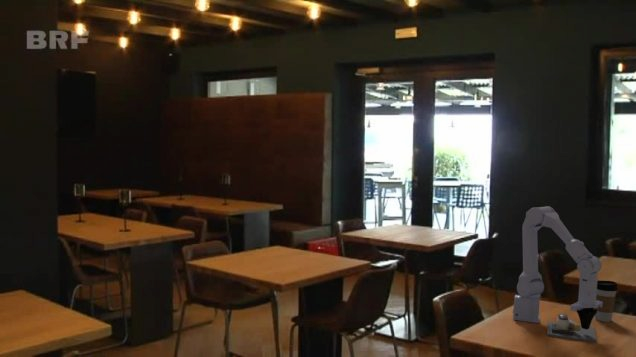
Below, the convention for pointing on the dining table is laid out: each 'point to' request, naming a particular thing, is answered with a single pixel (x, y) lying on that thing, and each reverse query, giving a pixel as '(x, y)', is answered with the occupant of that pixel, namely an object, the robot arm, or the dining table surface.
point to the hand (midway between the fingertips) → (585, 328)
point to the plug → (562, 323)
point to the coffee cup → (605, 300)
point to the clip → (572, 324)
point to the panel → (572, 333)
